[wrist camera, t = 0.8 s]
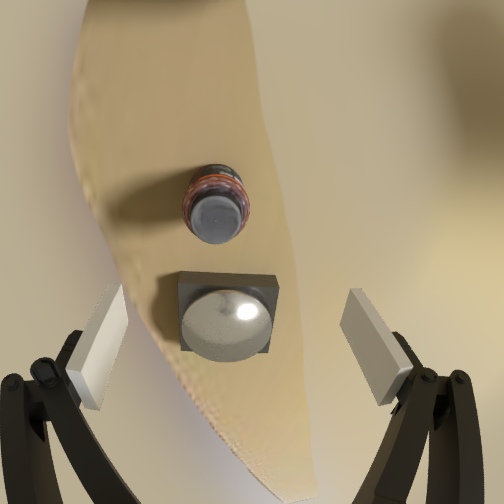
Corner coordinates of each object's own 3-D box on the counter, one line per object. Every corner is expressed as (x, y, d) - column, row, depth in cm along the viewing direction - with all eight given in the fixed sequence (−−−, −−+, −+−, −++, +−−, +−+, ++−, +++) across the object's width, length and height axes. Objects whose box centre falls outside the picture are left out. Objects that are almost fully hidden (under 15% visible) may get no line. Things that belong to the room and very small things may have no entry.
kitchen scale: (180, 270, 37) (175, 290, 32) (275, 274, 38) (282, 294, 34) (183, 339, 41) (180, 362, 37) (264, 342, 43) (269, 364, 38)
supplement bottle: (196, 218, 34) (186, 263, 24) (185, 169, 32) (167, 192, 21) (247, 208, 34) (259, 248, 24) (238, 157, 32) (245, 175, 21)
